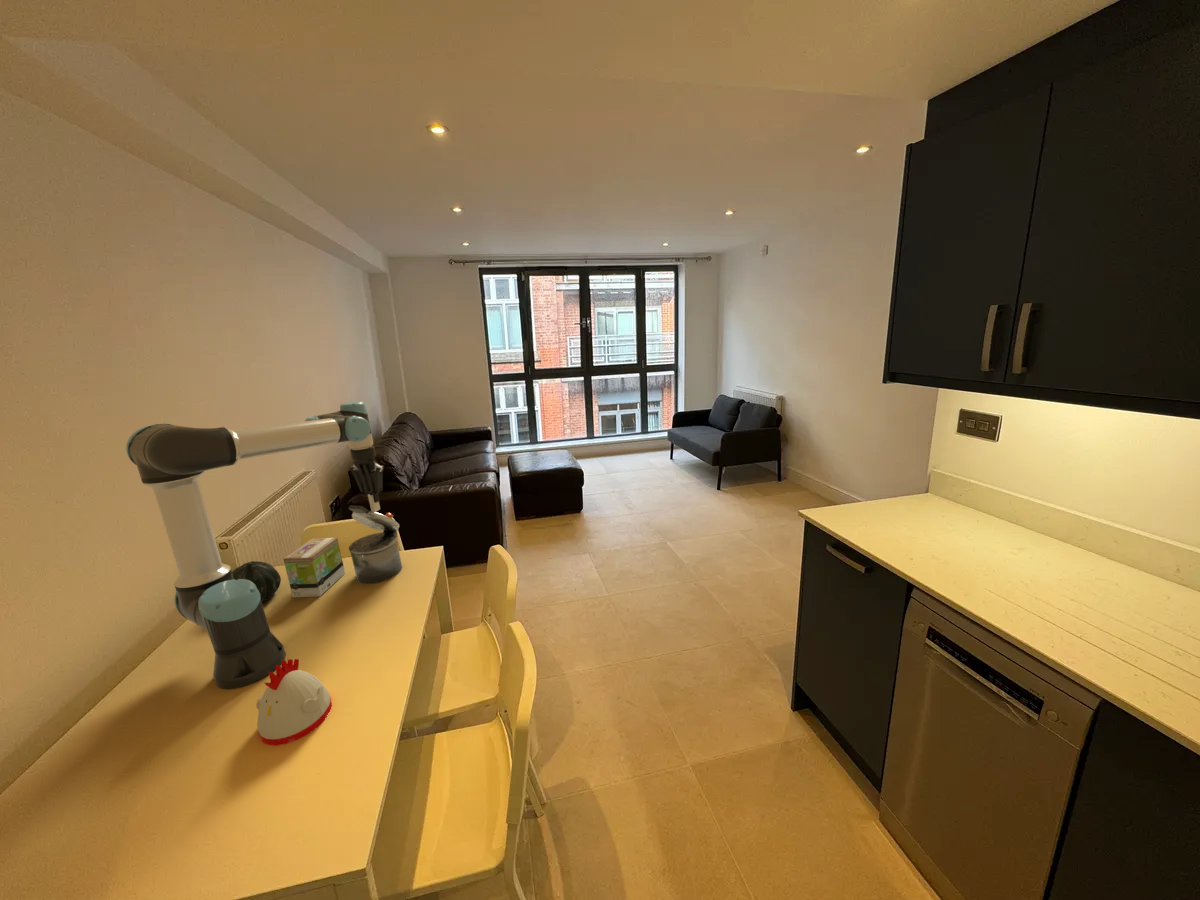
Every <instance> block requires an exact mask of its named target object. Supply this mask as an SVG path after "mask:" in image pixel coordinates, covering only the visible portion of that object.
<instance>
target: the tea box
mask: <svg viewBox="0 0 1200 900" xmlns="http://www.w3.org/2000/svg"><path fill="white" fill-rule="evenodd" d="M283 563H284V567H285V572H286V575H287V580H288V584H289V587H290V592H291V595H292V598H311V597H312V598H314V597H322V595H323V594H324V593H325V592H326V591H327V590H328V589H330V588H331V587H332V586H333V585H334V584H336V582H337V581H338V580H339V579H341V578H342V577H343V576H344V575H345V574H346V571H345V567H344V561H343V557H342V553H341V549H340V544H339V539H338V537H322V538H321V537H320V538H319V537H318V538H311V539H309V540H308V541H306V542H305V543H303V544H302V545H300V546H299V547H298V548H296V549H295V550H293V551H292V552H291V553H289V554H288V555H286V556H285V557H283Z"/></svg>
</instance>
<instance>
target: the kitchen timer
mask: <svg viewBox="0 0 1200 900" xmlns="http://www.w3.org/2000/svg"><path fill="white" fill-rule="evenodd" d="M299 661H300V659H299V658H294V659H291V658H288V659H287V661H286V660H285V659H284V660H281V664H280V665H276V669H275V672H269V674H268V677H269V680H270V681H269V682H264V685H265V686H267V687H266V688H265V691H264V692H263V694H262V695H261V696H259V697H258V699H257V701H256V709H257V710H258V711H257V713H258V715H257V731H258V732H257V733H258V735H259V738H260V739H261V741H262V743H263V744H266V745H268V746H279V745H286V744H289V743H292V742H295V741H297V740H299V739H301V738H303V737H305V736H307V735H309V734H311V731H312V732H313V731H314V730H316V729H317V728H318V727H320V725H321V724H322V723H324V721H325V720H326V719H327V718H328V716H329V715H328V713H329V712H331V711H330V710H332V708H331V707H333V703H332V702H333V701H332V698H331V697H332V696H331V694H330V692H329V690H328V689H327V688H326V686H325V685H324V684H323V683H322V682H321V681H320V679H318V678H317V677H316V676H315V675H314V674H312V673H310V672H307V671H305V670H302V669H299ZM331 701H332V702H331ZM329 714H330V713H329ZM327 715H328V716H327ZM325 718H326V719H325ZM315 728H316V729H315Z"/></svg>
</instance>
